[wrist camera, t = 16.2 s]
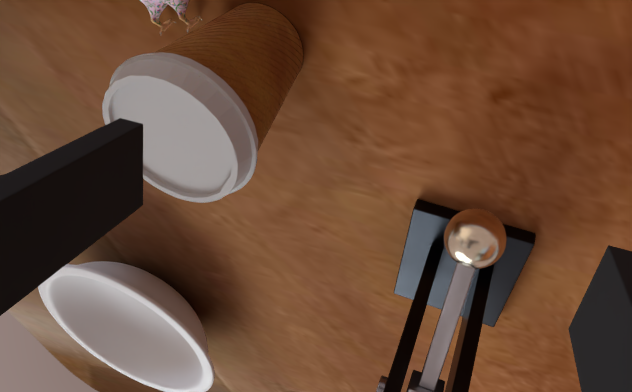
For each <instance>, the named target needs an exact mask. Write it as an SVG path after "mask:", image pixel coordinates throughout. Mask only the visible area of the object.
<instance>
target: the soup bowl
mask: <svg viewBox="0 0 632 392" xmlns="http://www.w3.org/2000/svg"><path fill="white" fill-rule="evenodd" d="M38 288H39V293H40V296H41V298H42V300H43V302H44V304H45V306H46V307H47V309H48V311H49V312H50V313H51V315H52V316H53V317H54V319H55V320H56V321H57V322H58V323H59V325H60V326H61V327H62V328H63V329H64V330H65V331H66V332H67V333H68V334H69V335H70V336H71V337H72V338H73V339H74V340H76V341H77V342H78V343H79V344H80V345H81V346H83V347H84V348H85V349H86V350H88V351H89V352H90V353H91V354H93V355H94V356H96V357H97V358H98V359H100V360H101V361H103V362H104V363H106V364H107V365H109V366H111V367H112V368H114V369H115V370H117V371H119V372H121V373H122V374H124V375H126V376H128V377H130V378H132V379H134V380H136V381H138V382H141V383H143V384H145V385H148V386H150V387H153V388H156V389H159V390H162V391H165V392H206V391H207V390H208V389H209V388H210V387H211V386H212V384H213V382H214V378H215V372H214V367H213V364H212V361H211V359H210V357H209V355H208V345H207V339H206V335H205V332H204V329H203V326H202V324H201V322H200V320H199V318H198V316H197V314H196V313H195V311H194V310H193V308H192V307H191V306H190V305H189V303H188V302H187V301H186V300H185V299H184V298H183V297H182V296H181V295H180V294H179V293H178V292H177V291H176V290H174V289H173V288H172V287H171V286H169V285H168V284H167V283H165V282H164V281H162V280H161V279H159V278H158V277H156V276H154V275H152V274H150V273H148V272H147V271H144V270H142V269H140V268H137V267H134V266H131V265H127V264H123V263H118V262H108V261H98V262H88V263H83V264H79V265H72V264H66V265H65V266H64V267H62V268H61V269H60V270H59V271H57V272H56V273H55V274H53V275H52V276H51V277H50V278H48V279H47V280H46V281H44V282H43V283H42V284H41V285H39V286H38Z"/></svg>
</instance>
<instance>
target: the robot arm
mask: <svg viewBox="0 0 632 392" xmlns="http://www.w3.org/2000/svg"><path fill="white" fill-rule="evenodd" d="M142 205H143V124H141V123H138V122H134V121H130V120H126V119H122V118H119V119H117V120H115V121H113V122H111V123H109V124H107V125H105V126H103V127H101V128H99V129H97V130H95V131H93V132H91V133H89V134H87V135H85V136H83V137H80V138H78V139H76V140H74V141H72V142H70V143H68V144H66V145H64V146H62V147H60V148H58V149H56V150H54V151H52V152H50V153H48V154H46V155H44V156H42V157H40V158H38V159H36V160H34V161H32V162H30V163H28V164H26V165H24V166H22V167H19V168H17V169H15V170H13V171H11V172H9V173H7V174H4V175H0V316H1V315H2V314H3V313H4V312H6V311H7V310H8V309H10V308H11V307H12V306H14V305H15V304H16V303H17V302H19V301H20V300H21V299H23V298H24V297H25V296H26V295H28V294H29V293H30V292H32V291H33V290H34V289H35V288H37V287H38V286H39V285H41V284H42V283H43V282H44V281H46V280H47V279H48V278H50V277H51V276H52V275H53V274H55V273H56V272H57V271H59V270H60V269H61V268H62V267H64V266H65V265H66V264H68V263H69V262H70V261H71V260H73V259H74V258H75V257H77V256H78V255H79V254H80V253H82V252H83V251H84V250H86V249H87V248H88V247H89V246H91V245H92V244H93V243H95V242H96V241H97V240H98V239H100V238H101V237H102V236H104V235H105V234H106V233H107V232H109V231H110V230H111V229H113V228H114V227H115V226H117V225H118V224H119V223H120V222H122V221H123V220H124V219H126V218H127V217H128V216H129V215H131V214H132V213H133V212H135V211H136V210H137V209H138V208H140V207H141V206H142ZM569 333H570V338H571V343H572V348H573V352H574V357H575V362H576V367H577V372H578V376H579V381H580V386H581V391H582V392H632V251H628V250H624V249H620V248H616V247H612V246H609V245H608V247H607V249H606V252H605V254H604V256H603V258H602V260H601V262H600V264H599V266H598V268H597V270H596V272H595V275H594V277H593V279H592V281H591V283H590V285H589V287H588V289H587V291H586V293H585V295H584V297H583V300H582V302H581V304H580V306H579V308H578V310H577V312H576V314H575V316H574V318H573V320H572V323H571V325H570V327H569Z"/></svg>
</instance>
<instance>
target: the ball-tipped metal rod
mask: <svg viewBox="0 0 632 392" xmlns="http://www.w3.org/2000/svg"><path fill="white" fill-rule="evenodd" d="M506 241H507V237H506V232H505V229H504V226H503V224H502V223H501V221H500V220H499V219H498V218H497V217H496V216H495V215H493V214H492V213H490V212H488V211H486V210H482V209H467V210H464V211H461V212H459V213H458V214H456V215H455V216H454V217H453V218H452V219H451V220H450V221H449V223H448V224H447V226H446V229H445V232H444V244H445V247H446V250H447V252H448V254H449V255H450V257H451V258H452V259H453V260H454V261H455V262H457V264H456V267H455V270H454V273H453V276H452V279H451V282H450V285H449V289H448V292H447V295H446V298H445V301H444V304H443V307H442V310H441V314H440V317H439V320H438V323H437V326H436V329H435V332H434V335H433V339H432V342H431V345H430V348H429V351H428V354H427V357H426V361H425V364H424V367H423V370H422V373H421V372H419V371H416V370H413V372H412V376H411V379H410V382H409V385H408V388H407V391H406V392H443V390H444V384H445V381H443V380H440V379H439V377H440V374H441V371H442V368H443V365H444V362H445V359H446V356H447V353H448V350H449V347H450V344H451V341H452V338H453V335H454V332H455V329H456V326H457V323H458V320H459V317H460V314H461V311H462V308H463V305H464V302H465V299H466V296H467V293H468V290H469V287H470V284H471V281H472V278H473V275H474V272H475V269H481V268H485V267H488V266H490V265H492V264H494V263H495V262H496V261H497V260H498V259H499V258H500V257H501V256H502V254H503V252H504V250H505V247H506Z"/></svg>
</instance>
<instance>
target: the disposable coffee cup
mask: <svg viewBox="0 0 632 392" xmlns="http://www.w3.org/2000/svg"><path fill="white" fill-rule="evenodd" d="M302 63H303V49H302V44H301V41H300V38H299V35H298V33H297V32H296V30H295V28H294V27H293V26H292V24H291V23H290V22H289V21H288V20H287V19H286V18H285V17H284V16H283V15H282V14H281V13H279V12H278V11H277V10H275V9H273V8H271V7H269V6H267V5H263V4H259V3H246V4H242V5H239V6H237V7H235V8H234V9H232V10H230V11H228V12H226V13H225V14H223V15H221V16H219V17H218V18H216V19H214V20H212V21H210V22H209V23H207V24H205V25H203V26H201V27H200V28H198V29H196V30H194V31H192V32H190V33H189V34H187V35H185V36H184V37H182V38H180V39H178V40H176V41H174V42H173V43H171V44H169V45H167V46H165V47H163V48H162V49H160V50H158V51H156V52H155V53H149V54H142V55H138V56H134V57H132V58H130V59H128V60H126V61H125V62H124V63H123V64H121V65H120V66H119V67H118V68H117V69H116V71H115V72H114V74H113V76H112V78H111V81H110V87H109V88H108V90H107V91H106V93H105V97H104V100H103V104H102V108H103V118H104V122H105V125H107V124H109V123H111V122H113V121H115V120H117V119H119V118H122V119H126V120H130V121H134V122H138V123H141V124H143V179H145V180H146V181H147V182H149V183H150V184H151V185H152V186H154V187H156V188H158V189H160V190H161V191H163V192H165V193H167V194H169V195H171V196H174V197H176V198H179V199H183V200H187V201H191V202H201V203H204V202H212V201H215V200H219V199H221V198H222V197H224V196H226V195H227V194H231V193H233V192H235V191H237V190H239V189H241V188H242V187H243V186H244V185H246V184H247V182H248V181H249V180H250V178H251V177H252V175H253V173H254V170H255V166H256V163H257V152H258V150H259V148H260V146H261V144H262V142H263V140H264V138H265V137H266V135H267V133H268V131H269V129H270V127H271V125H272V123H273V121H274V119H275V117H276V115H277V113H278V112H279V110H280V108H281V106H282V104H283V102H284V100H285V98H286V96H287V94H288V92H289V90H290V88H291V86H292V85H293V83H294V81H295V79H296V77H297V75H298V73H299V71H300V70H301V66H302Z"/></svg>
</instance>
